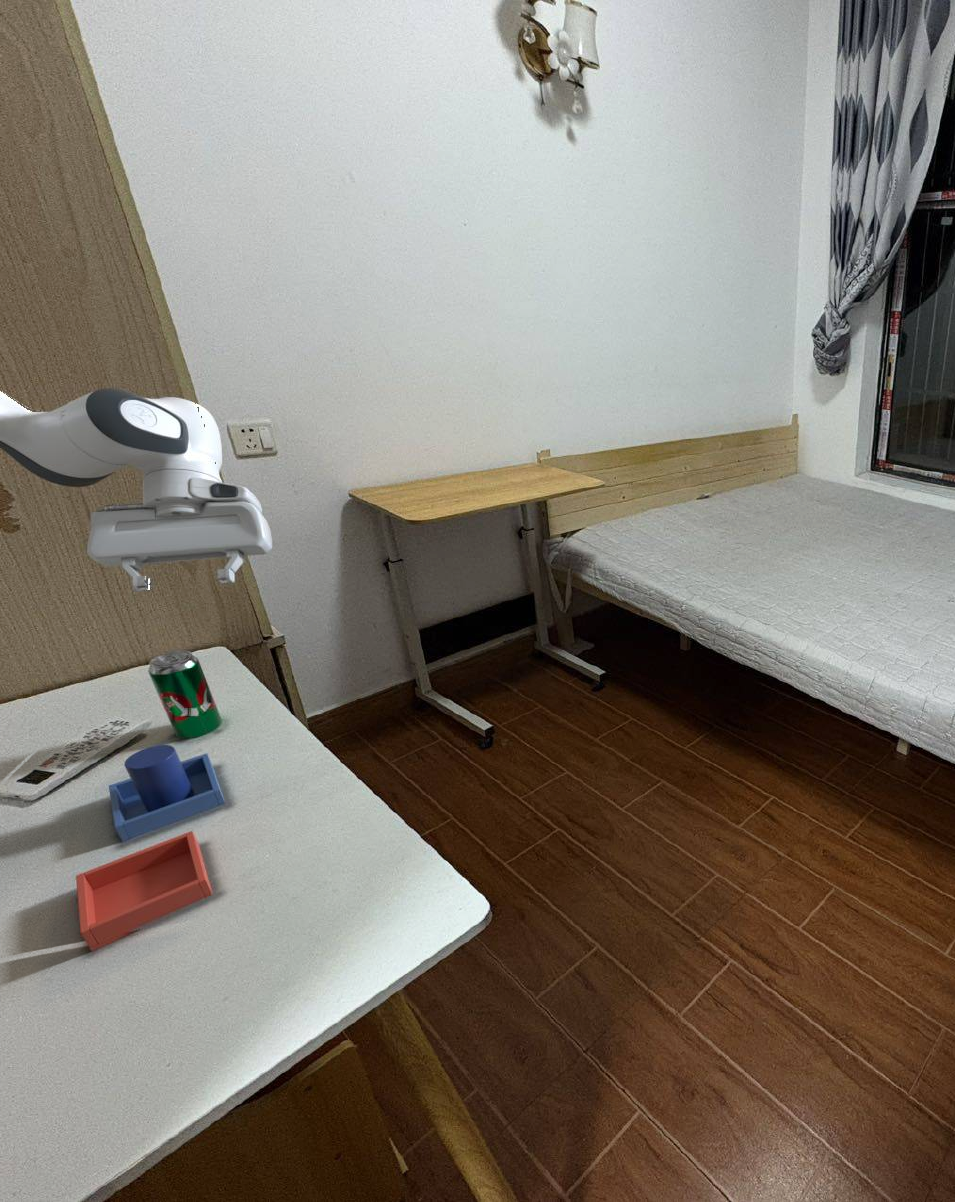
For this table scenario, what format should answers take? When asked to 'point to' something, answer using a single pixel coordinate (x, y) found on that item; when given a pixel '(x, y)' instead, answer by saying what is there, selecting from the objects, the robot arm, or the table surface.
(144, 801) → the blue solid cylinder
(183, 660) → the soda can
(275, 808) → the table surface
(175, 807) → the blue tray
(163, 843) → the red tray
